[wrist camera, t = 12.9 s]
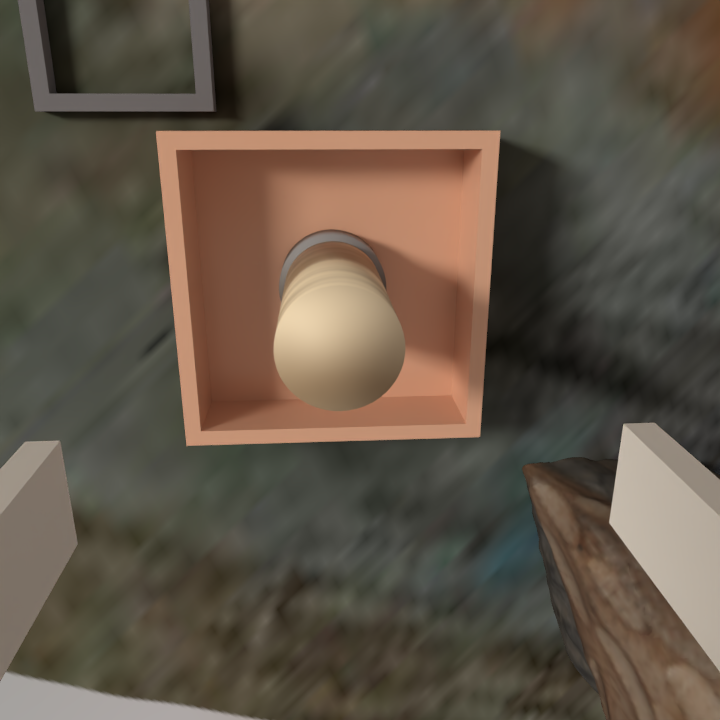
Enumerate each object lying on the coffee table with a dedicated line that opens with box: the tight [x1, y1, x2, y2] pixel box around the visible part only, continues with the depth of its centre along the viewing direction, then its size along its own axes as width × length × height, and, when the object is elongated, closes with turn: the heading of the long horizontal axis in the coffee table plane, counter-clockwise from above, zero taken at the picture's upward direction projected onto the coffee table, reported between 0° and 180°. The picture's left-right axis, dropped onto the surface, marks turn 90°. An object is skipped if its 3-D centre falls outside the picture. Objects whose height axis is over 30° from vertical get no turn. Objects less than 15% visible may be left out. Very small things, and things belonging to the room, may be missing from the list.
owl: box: [522, 457, 720, 720], centre depth 34 cm, size 13×13×20 cm
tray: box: [156, 130, 500, 446], centre depth 35 cm, size 16×16×5 cm
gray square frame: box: [18, 0, 216, 112], centre depth 31 cm, size 9×9×1 cm
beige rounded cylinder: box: [274, 229, 405, 411], centre depth 31 cm, size 6×6×12 cm
